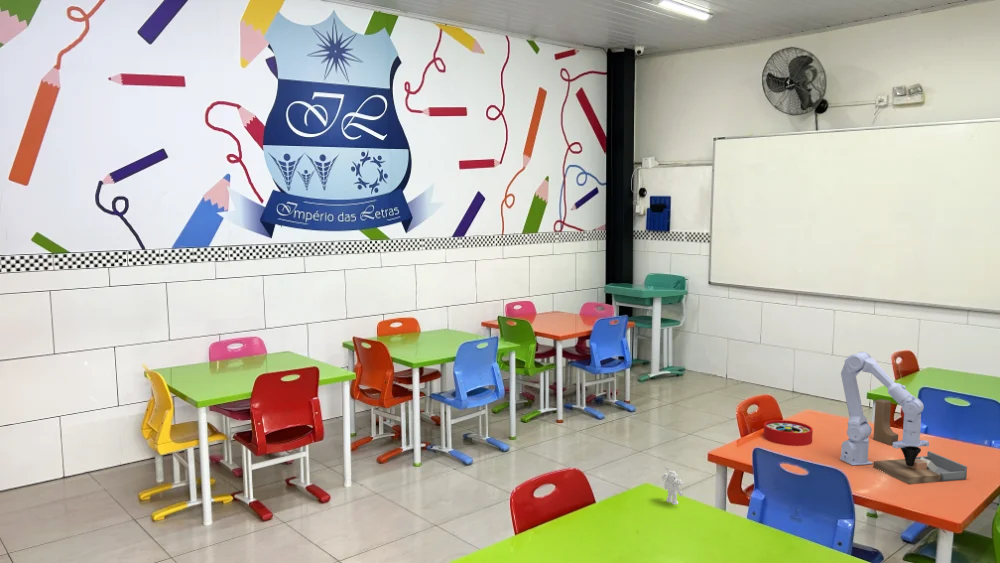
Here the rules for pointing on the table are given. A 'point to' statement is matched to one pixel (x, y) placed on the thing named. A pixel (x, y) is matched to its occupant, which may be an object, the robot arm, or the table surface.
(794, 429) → the toy clock
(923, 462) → the terracotta tile
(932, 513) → the table surface
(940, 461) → the gray box
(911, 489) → the table surface
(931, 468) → the cream tile
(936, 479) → the walnut board
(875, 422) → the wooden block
